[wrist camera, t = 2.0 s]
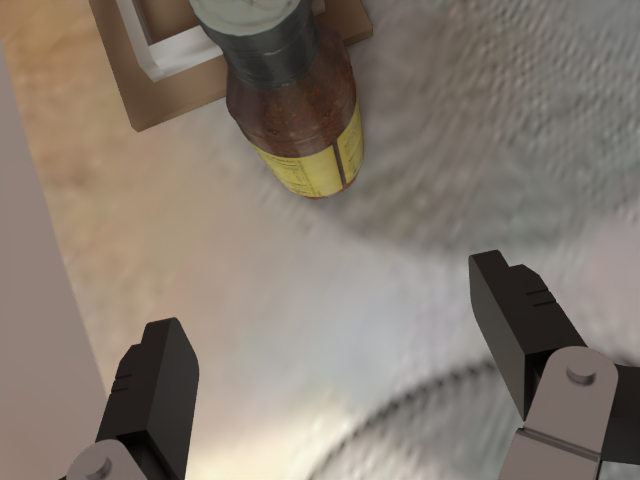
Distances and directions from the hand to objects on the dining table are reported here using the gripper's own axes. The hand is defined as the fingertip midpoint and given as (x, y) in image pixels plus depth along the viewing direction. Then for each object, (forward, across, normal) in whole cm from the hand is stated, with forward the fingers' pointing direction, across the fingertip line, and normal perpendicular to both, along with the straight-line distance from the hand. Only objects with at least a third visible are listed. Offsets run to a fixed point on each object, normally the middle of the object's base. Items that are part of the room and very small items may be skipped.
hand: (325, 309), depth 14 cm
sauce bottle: (+22, 0, +7) cm, 23 cm away
